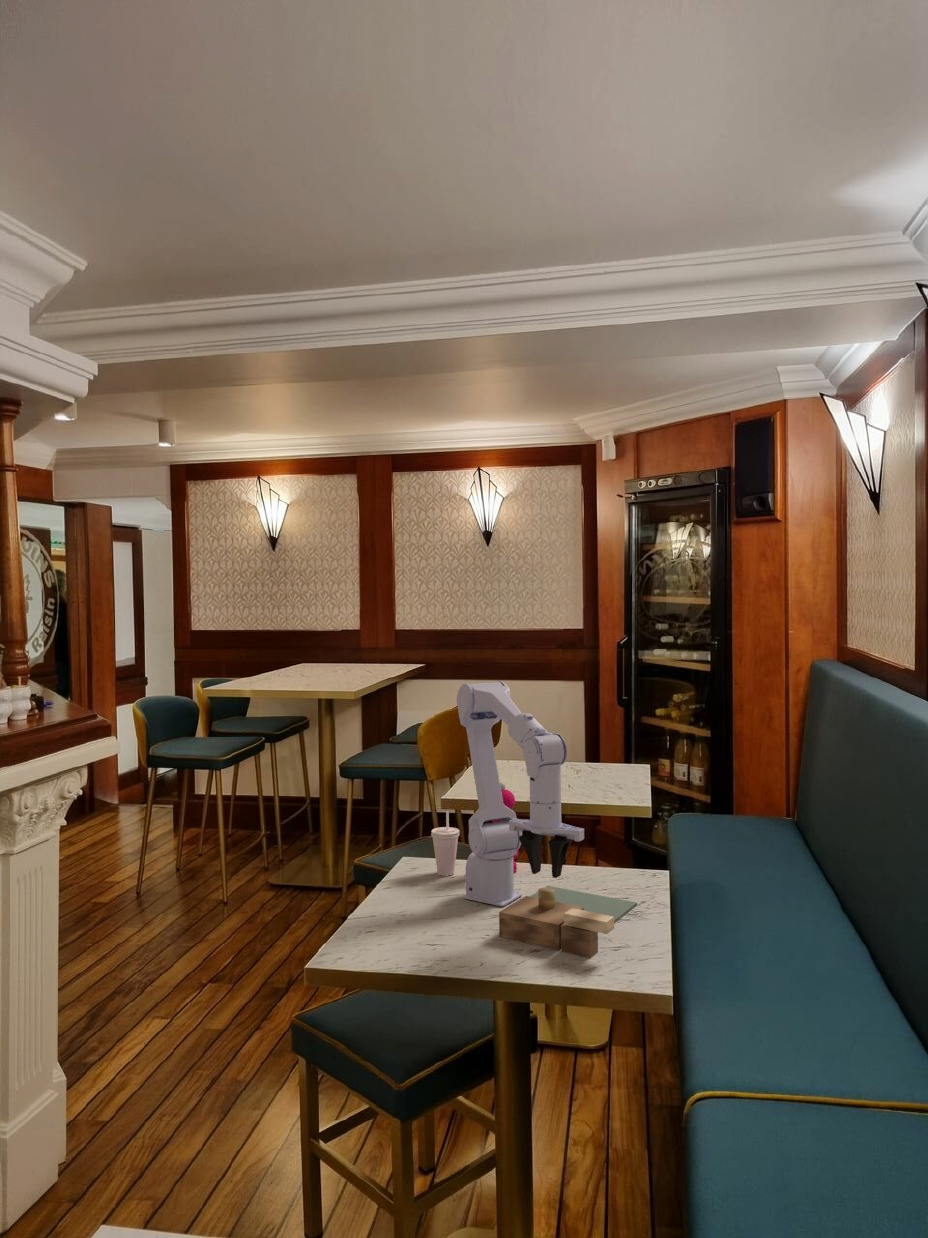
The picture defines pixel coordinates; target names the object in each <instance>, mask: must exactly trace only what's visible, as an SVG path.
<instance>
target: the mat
mask: <svg viewBox="0 0 928 1238" xmlns="http://www.w3.org/2000/svg"><path fill="white" fill-rule="evenodd" d="M545 887H548V888H553V889H554V890H555V902H559V903H564V904H569V905H574V906H579V907H584V911H589V912H594V913H598V914H603V915H608V916H613V917H614V924H615V923H616V922H617V921H619V920H620V919H622V918H623V917H624V916H626V915H627V914H628V913H629V912H631V911H632V910H633V909H634V908H636V907H637V906H638V902H635V901H630V900H624V899H619V898H614V897H610V896H605V895H599V894H593V893H588V892H582V891H579V890H578V891H577V890H573V889H567V888H562V887H561V888H560V887H556V886H552V885H546V886H545ZM529 897H534V898H539V897H538V891H536V892H535V893H533V894H531V895H530V896H529Z"/></svg>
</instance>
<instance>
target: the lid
mask: <svg viewBox="0 0 928 1238" xmlns="http://www.w3.org/2000/svg"><path fill="white" fill-rule="evenodd" d="M537 892H538V897H539V898H534V897H530V896H528V895H525V896H523V897H522V898H520V899H519V900H517V901H515V902H513V903H512V904H510V905H508V906H507V907H505V908H504V909H502V910H500V911H499V912H498V919H499V918H504V919H508V920H513V921H517V922H522V923H527V924H531V925H536V926H540V927H545V928H549V929H554V930H558V931H559V930H560V929H561V925H562V924H564V913H565V912H567V911H568V910H570V909H571V908H574V909H579V910H584V907H579V906H574V905H569V904H564V903H559V902H555V890H554V889H553V888H548V887H546V886H544V887H540V888H538V890H537Z"/></svg>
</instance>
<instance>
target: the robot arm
mask: <svg viewBox="0 0 928 1238" xmlns="http://www.w3.org/2000/svg"><path fill="white" fill-rule="evenodd" d="M511 694H512V693H511V690H510V687H509V686H508V685H507V684H506V683H505V682H504V681H502V680H501V681H496V682H481V683H480V682H479V683H462V684H461V685H460V687H459V689H458V691H457V695H456V706H457V710H458V718H459V722H460V725H461V726H462V727H464V728H465V729H466V734H467V736H466V737H467V742H468V745H469V746H468V748H469V752H470V759H471V765H472V771H473V778H474V784H475V790H476V797H477V801H478V802H477V803H478V809H477V810H476V811H475V812H474V813H473V814H472V815H471V817H470V818H469V819H468V844H469V847H470V849H471V852H470V854H469V856H468V857H467V860H466V863H465V895H464V896H463V898H464V899H465V900H468V901H469V900H470V901H473V902H474V901H475V902H478V903H479V902H480V903H485V904H487V905H488V904H489V905H493V906H498V907H504V906H507V905H508V904H510V903H512V902H514V901H515V900H517V899H518V898H521V897H522V896H523V893H522V892H519V891H515V890H514V889H515V883H514V878H515V877H514V875H515V873H514V869H513V855H516V850H518V851H519V849H520V848H521V846H522V847H523V849H524V852H525V853H526V857H527V859H528V862H529V867H530V869H531V874H533V875H536V874H538V873H540V872H541V869H542V844H543V838H544V836H548V837H554V838H551V839H549V840H548V846H549V850H550V856H551V876H552V878H554V879H557V878H558V877H561V876H562V871H563V870H562V869H563V865H564V862H565V859H566V855H567V854H568V851H569V849H570V846H571V845H572V842H573V841H574V842H582V841H583V840H584V839H585V828H582V827H577V826H573V825H570V824H566V823H563V822H562V767H561V765H564V763H565V762H566V761H567V757H568V747H567V744H566V741H565V739H564V737H563V735H562V734H561V733H557V732H548V730H546V728H544V726H543V725H542V724H541V723H539V721H538V720H537V719H536V718H535V717H534V715H533V714H532V713H529V712H521V710H520V709H519V707H517V705H516V704H515V702H514V701H513V700H512V699H511V697H512V696H511ZM500 720H501V721H503V722H504V723H505V724H506V725H507V726H508V727H507V732H508V735H509V736H510V737H511V738H512V740H513V741H514V742H515V743H516V744H517V746H519V747H520V748H521V750H522V755H523V760H524V762H525V766H526V767H525V768H526V773H527V774H526V775H527V776H528V777H529V819H526V818H525V819H524V818H523V819H521V818H517V814H516V812H515V811H514V810H513V809H512V810H511V809H509V808H508V807H506V806H505V805H504V804H503V799H502V793H501V787H500V783H501V782H500V777H499V771H498V770H499V769H498V765H497V758H496V754H495V748H494V747H495V746H494V741H493V737H492V736H493V735H492V728H493V726H494V725H496V724H498V723H499V722H500ZM493 820H501V822H493ZM491 821H492V822H491ZM484 822H487V823H484Z"/></svg>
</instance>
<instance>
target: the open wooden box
mask: <svg viewBox="0 0 928 1238" xmlns="http://www.w3.org/2000/svg"><path fill="white" fill-rule="evenodd" d="M498 922H499V923H498V924H499V925H498V927H499V932H498V933H499V937H500V938H503V939H507V940H511V941H516V942H521V943H524V944H529V945H533V946H538V947H542V948H547V949H550V950H554V951H560V950H561V952H564V953H567V954H571V955H572V954H573V955H576V956H580V957H585V958H589V959H591V958H593V957H594V956H595V955H596V954H597V953H598V952H599V935H598V934H599V932H595V931H590V930H586V929H581V928H576V927H572V926H567V925H564V924H562V925H561V929H560V930H559V931H558V930H554V929H549V928H545V927H540V926H536V925H531V924H527V923H522V922H517V921H513V920H508V919H504V918H499V917H498Z"/></svg>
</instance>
